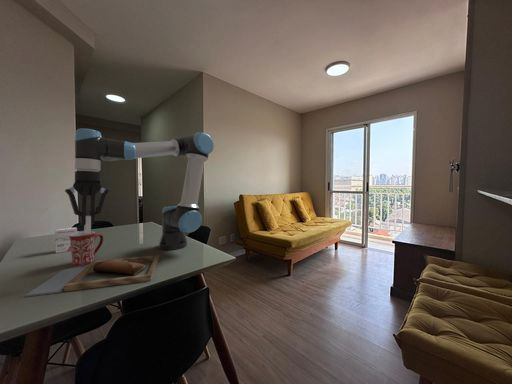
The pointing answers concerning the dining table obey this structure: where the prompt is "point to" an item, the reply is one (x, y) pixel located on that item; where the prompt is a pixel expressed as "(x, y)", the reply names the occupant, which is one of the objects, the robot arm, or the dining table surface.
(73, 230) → the ink box
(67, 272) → the felt pad
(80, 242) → the mug
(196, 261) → the dining table surface
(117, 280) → the open square wooden frame
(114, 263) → the sunglasses case
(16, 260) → the dining table surface
